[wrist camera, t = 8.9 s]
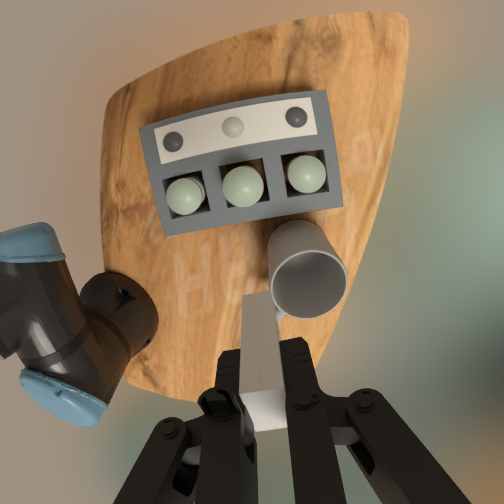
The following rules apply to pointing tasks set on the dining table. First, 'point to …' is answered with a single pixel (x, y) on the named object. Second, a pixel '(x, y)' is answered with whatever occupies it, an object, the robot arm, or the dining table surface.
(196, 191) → the button
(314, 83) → the dining table surface
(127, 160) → the dining table surface
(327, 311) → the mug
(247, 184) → the button mid
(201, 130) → the card
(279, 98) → the button board
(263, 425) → the robot arm
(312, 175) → the button
